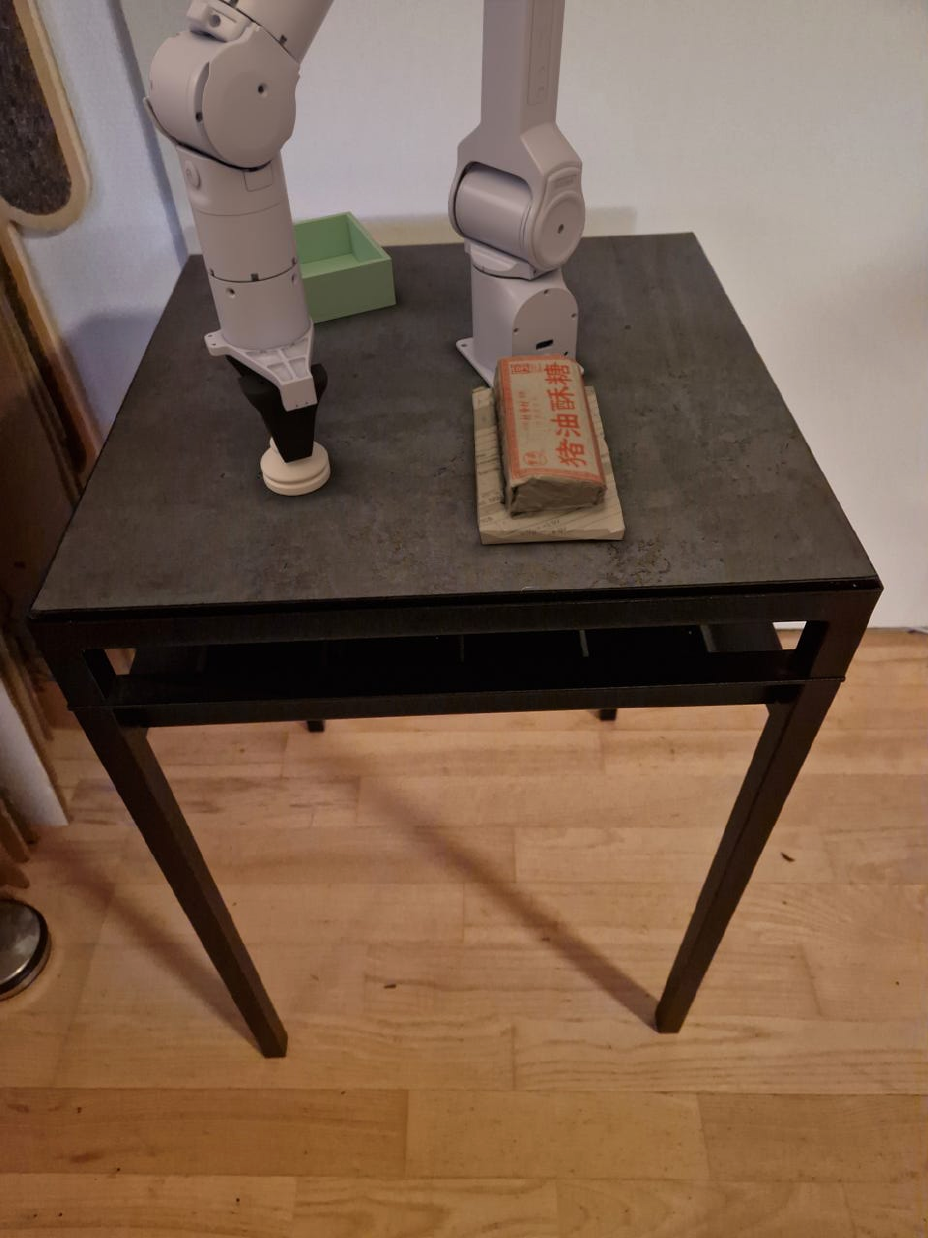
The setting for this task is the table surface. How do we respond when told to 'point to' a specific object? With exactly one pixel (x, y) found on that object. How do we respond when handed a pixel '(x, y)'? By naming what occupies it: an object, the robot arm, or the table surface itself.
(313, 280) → the open green box
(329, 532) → the table surface
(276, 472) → the chess pawn
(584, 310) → the table surface
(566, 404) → the packaged product
